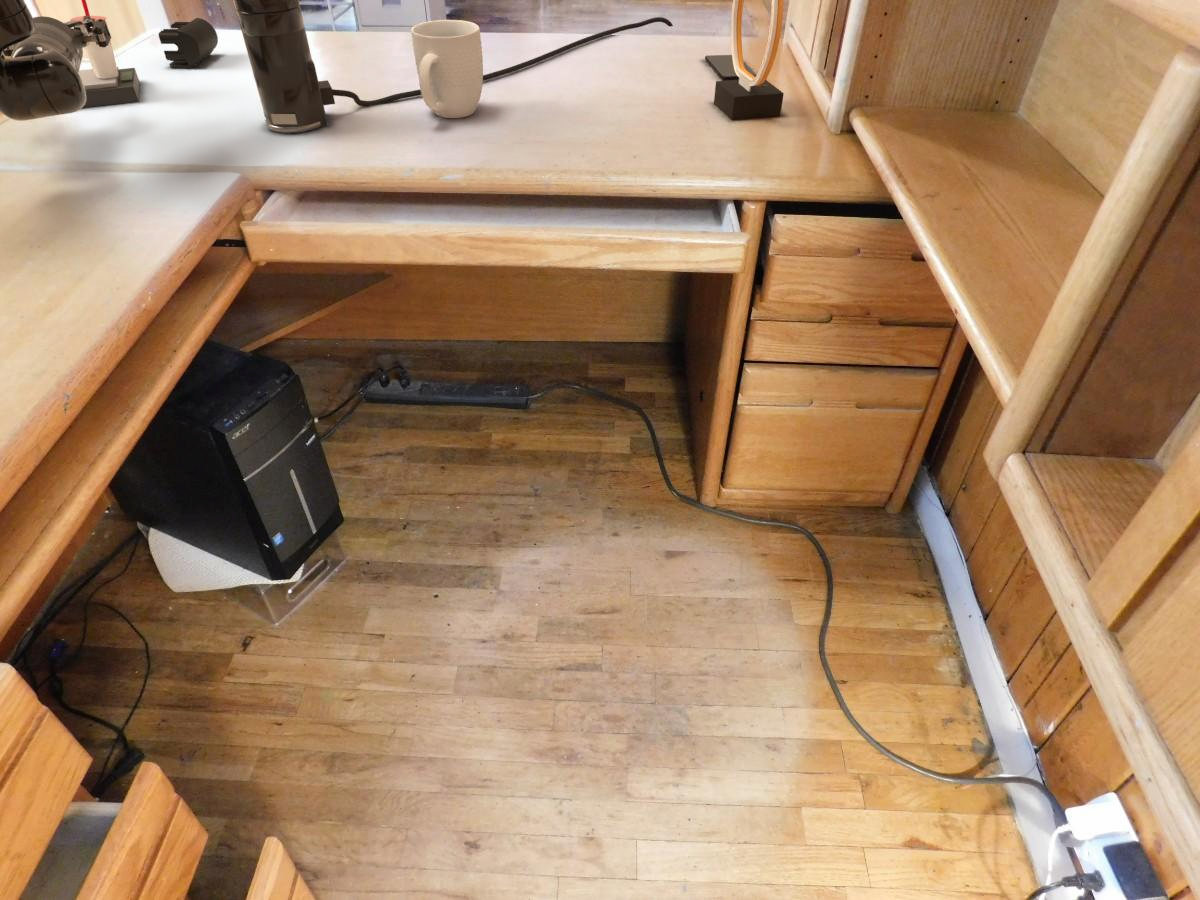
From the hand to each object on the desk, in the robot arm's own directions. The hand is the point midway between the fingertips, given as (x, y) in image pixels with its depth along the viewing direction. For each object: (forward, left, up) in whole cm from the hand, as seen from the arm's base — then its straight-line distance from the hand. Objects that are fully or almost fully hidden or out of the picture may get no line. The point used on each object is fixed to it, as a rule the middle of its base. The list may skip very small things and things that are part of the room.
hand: (59, 25), depth 120 cm
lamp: (-103, +38, -14) cm, 111 cm away
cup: (-2, -11, -11) cm, 15 cm away
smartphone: (-112, +17, -14) cm, 115 cm away
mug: (-55, +21, -14) cm, 61 cm away
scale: (0, -12, -14) cm, 18 cm away
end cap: (-16, -28, -14) cm, 35 cm away
